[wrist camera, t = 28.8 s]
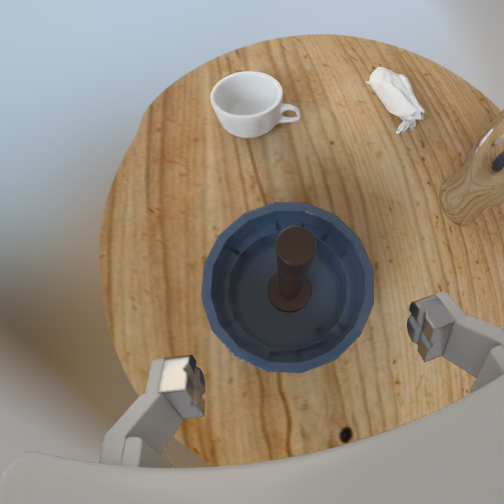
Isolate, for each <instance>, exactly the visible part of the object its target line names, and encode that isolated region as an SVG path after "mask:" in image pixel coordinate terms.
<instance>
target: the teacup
mask: <svg viewBox="0 0 504 504" xmlns="http://www.w3.org/2000/svg"><path fill="white" fill-rule="evenodd" d="M211 103H212V106H213V108H214V111H215V113H216V115H217V117H218V119H219V121H220V122H221V124H222V125H223V127H224V128H225V129H226V130H227V131H228V132H229V133H231V134H233V135H235V136H238V137H242V138H255V137H259V136H262V135H264V134H266V133H268V132H269V131H270V130H272V129H273V128H274V127H275V126H276V125H277V124H279V123H289V122H296V121H298V120H299V119H300V118H301V111H300V110H299V108H297V107H296V106H294V105H291V104H285V103H283V91H282V87H281V85H280V84H279V82H278V81H277V80H276V79H275V78H273V77H271V76H270V75H267V74H265V73H261V72H255V71H245V72H238V73H234V74H231V75H229V76H227V77H225V78H223V79H222V80H220V81H219V82H218V83H217V84H216V85H215V86H214V88H213V90H212V92H211ZM287 110H293V111H295V112H296V113H297V116H296V117H293V118H292V117H285V116H283V115H282V113H283V112H285V111H287Z"/></svg>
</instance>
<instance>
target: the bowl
mask: <svg viewBox="0 0 504 504" xmlns="http://www.w3.org/2000/svg"><path fill="white" fill-rule="evenodd" d="M291 226H301V227H304V228H306V229H308V230H309V231H310V232H311V233H312V234H313V235H314V237H315V239H316V242H317V251H316V254H315V256H314V259H313V261H312V263H311V266H310V268H309V271H308V273H307V275H306V276H307V277H308V279H309V280H310V283H311V288H312V292H311V297H310V299H309V301H308V302H307V304H306V305H305V306H304V307H303V308H301V309H300V310H298V311H295V312H284V311H281V310H279V309H277V308H276V307H275V306H274V305H273V304H272V303H271V301H270V299H269V296H268V284H269V281H270V279H271V278H272V276H273V275H274V274H275V273H277V272H278V267H277V257H276V248H275V244H276V239H277V237H278V235H279V234H280V233H281V232H282V231H283V230H284V229H286V228H288V227H291ZM201 297H202V302H203V305H204V308H205V311H206V314H207V317H208V320H209V323H210V326H211V329H212V331H213V332H214V333H215V334H216V336H217V337H218V338H219V339H220V340H221V341H222V343H223V344H224V345H225V346H226V347H227V348H228V349H229V351H230V352H231V353H232V354H233V355H234V356H235V357H237V358H239V359H241V360H243V361H245V362H247V363H249V364H251V365H254V366H256V367H258V368H260V369H262V370H264V371H267V372H287V373H302V372H306V371H308V370H311V369H314V368H316V367H319V366H322V365H324V364H327V363H329V362H332V361H334V360H335V359H337V358H338V357H339V356H340V355H341V354H342V353H343V352H344V351H345V350H346V349H347V348H348V347H349V346H350V345H351V344H352V343H353V342H354V341H355V340H356V339H357V338H358V337H359V336H360V335H361V333H362V331H363V328H364V326H365V324H366V321H367V319H368V316H369V314H370V311H371V309H372V306H373V302H374V279H373V267H372V265H371V263H370V260H369V258H368V256H367V253H366V251H365V249H364V246H363V244H362V242H361V240H360V238H359V237H358V236H357V235H356V234H355V233H354V232H353V231H352V230H351V229H350V228H349V227H348V226H347V225H346V224H345V223H344V222H343V221H342V220H341V219H340V218H339V217H338V216H336V215H334V214H332V213H329V212H327V211H325V210H322V209H320V208H318V207H315V206H313V205H310V204H308V203H286V202H275V203H271V204H269V205H266V206H263V207H260V208H257V209H255V210H252V211H249V212H246V213H244V214H243V215H241V216H240V217H239V218H238V219H237V220H236V221H234V222H233V223H232V224H231V225H230V226H229V227H228V228H226V229H225V230H224V231H223V232H222V233H221V234H220V235H219V236H218V238H217V240H216V242H215V244H214V246H213V248H212V250H211V252H210V254H209V255H208V257H207V259H206V261H205V263H204V271H203V283H202V295H201Z"/></svg>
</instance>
